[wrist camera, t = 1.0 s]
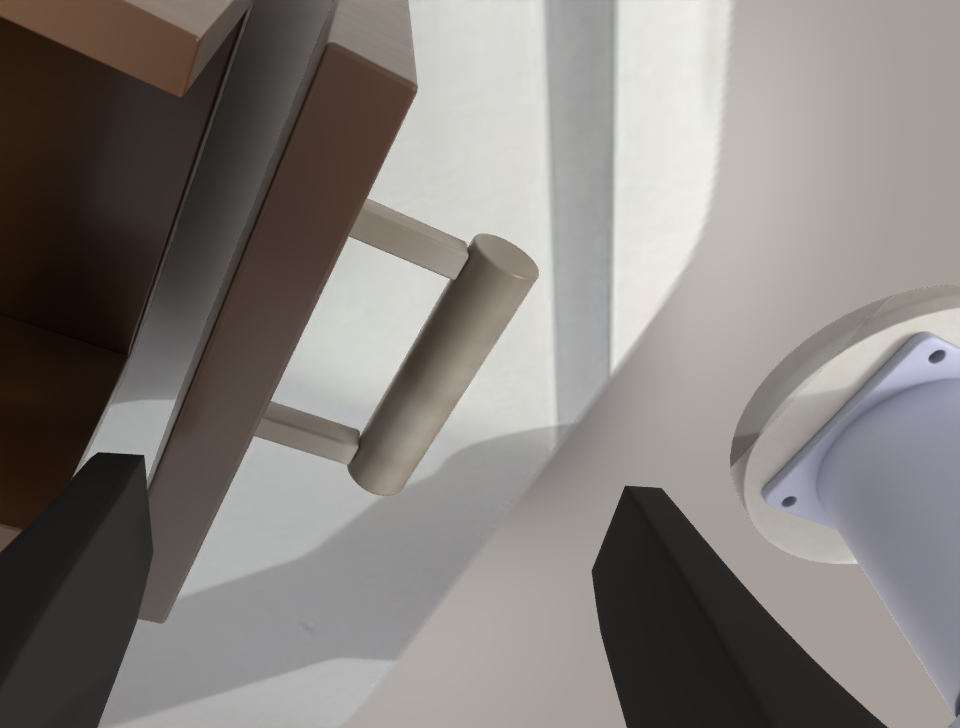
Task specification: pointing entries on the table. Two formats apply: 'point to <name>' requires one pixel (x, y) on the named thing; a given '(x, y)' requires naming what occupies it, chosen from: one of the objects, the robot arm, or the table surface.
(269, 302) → the drawer
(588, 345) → the table surface
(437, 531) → the table surface
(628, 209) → the table surface
